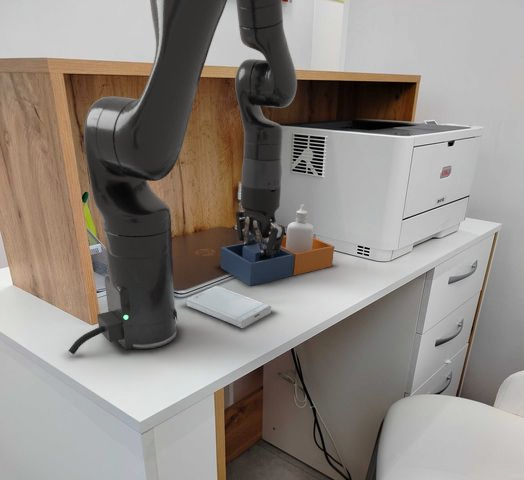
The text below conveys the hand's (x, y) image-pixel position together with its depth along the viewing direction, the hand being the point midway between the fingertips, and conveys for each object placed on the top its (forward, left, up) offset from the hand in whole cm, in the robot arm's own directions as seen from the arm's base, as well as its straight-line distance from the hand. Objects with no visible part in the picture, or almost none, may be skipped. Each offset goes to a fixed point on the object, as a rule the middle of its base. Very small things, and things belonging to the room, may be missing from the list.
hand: (257, 267), depth 102 cm
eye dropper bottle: (+11, 0, -1) cm, 11 cm away
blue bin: (0, 0, -1) cm, 1 cm away
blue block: (0, 0, 0) cm, 0 cm away
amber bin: (+11, 0, -1) cm, 11 cm away
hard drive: (-15, -12, -1) cm, 19 cm away
